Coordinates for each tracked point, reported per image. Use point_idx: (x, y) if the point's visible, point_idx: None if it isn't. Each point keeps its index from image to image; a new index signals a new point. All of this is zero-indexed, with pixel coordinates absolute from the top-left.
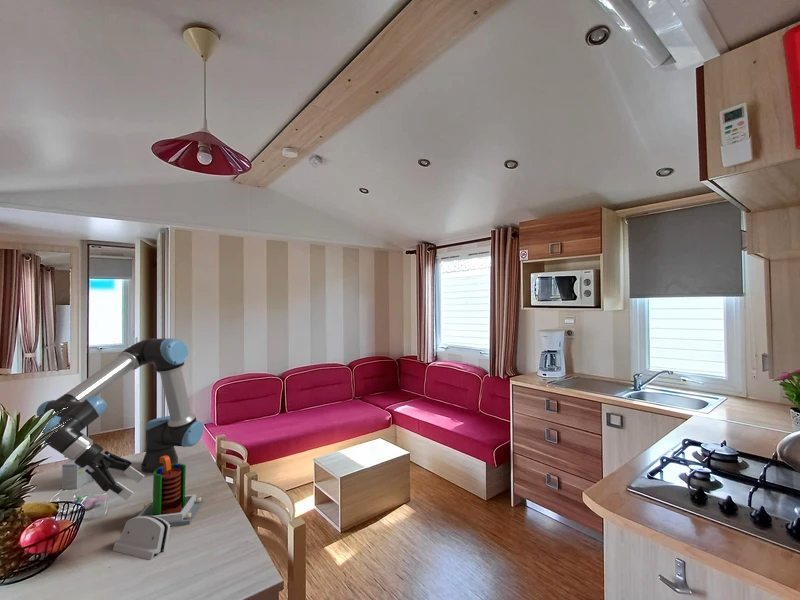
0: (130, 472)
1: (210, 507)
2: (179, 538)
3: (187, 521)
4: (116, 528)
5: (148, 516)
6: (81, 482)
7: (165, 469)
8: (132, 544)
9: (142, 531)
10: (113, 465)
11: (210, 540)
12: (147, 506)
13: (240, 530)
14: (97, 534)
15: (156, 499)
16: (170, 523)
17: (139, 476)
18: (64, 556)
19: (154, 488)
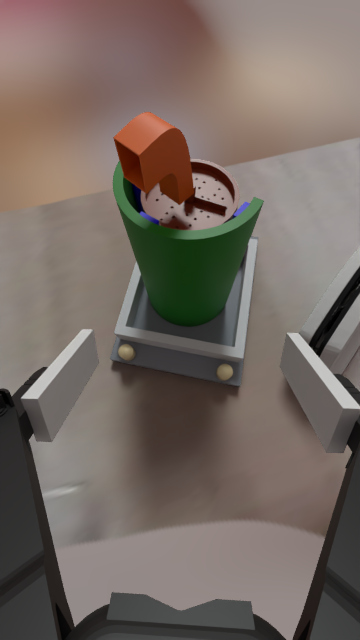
0: (63, 393)
1: None
2: (314, 254)
3: (257, 242)
4: (203, 419)
5: (345, 287)
6: None
7: (187, 191)
8: (355, 338)
9: None
10: (49, 549)
11: (340, 199)
12: (165, 338)
13: (317, 157)
14: (219, 470)
15: (229, 284)
16: (253, 276)
17: (87, 349)
18: (325, 536)
19: (224, 272)
